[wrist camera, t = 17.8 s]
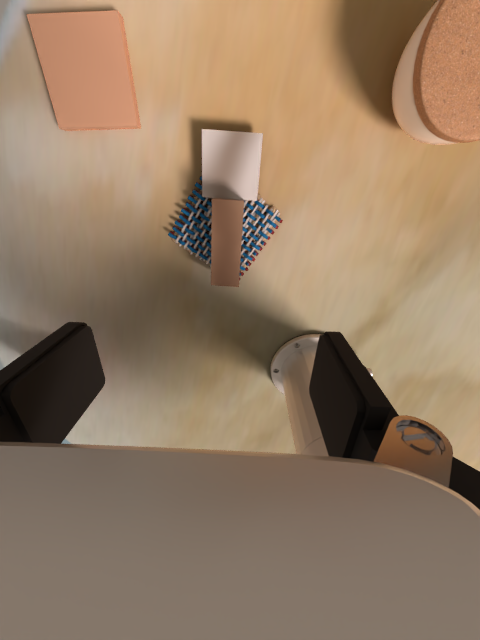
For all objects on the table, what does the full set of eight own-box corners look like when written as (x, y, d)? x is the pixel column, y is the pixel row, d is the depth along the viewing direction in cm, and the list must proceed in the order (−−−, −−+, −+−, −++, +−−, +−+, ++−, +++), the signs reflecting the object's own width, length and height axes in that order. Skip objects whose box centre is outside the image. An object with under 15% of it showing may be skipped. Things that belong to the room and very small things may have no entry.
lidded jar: (394, 1, 22) (488, -117, 13) (514, 12, 22) (681, -97, 14) (358, 149, 27) (410, 131, 18) (457, 157, 27) (553, 142, 18)
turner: (262, 134, 25) (264, 126, 22) (250, 278, 32) (250, 287, 29) (202, 130, 25) (196, 121, 22) (203, 275, 32) (198, 284, 29)
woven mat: (237, 282, 34) (237, 287, 33) (169, 236, 32) (164, 239, 30) (286, 215, 30) (288, 217, 29) (212, 156, 28) (210, 154, 26)
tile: (142, 129, 27) (125, 21, 23) (137, 126, 25) (117, 10, 21) (69, 131, 27) (39, 24, 23) (59, 128, 25) (26, 13, 22)
